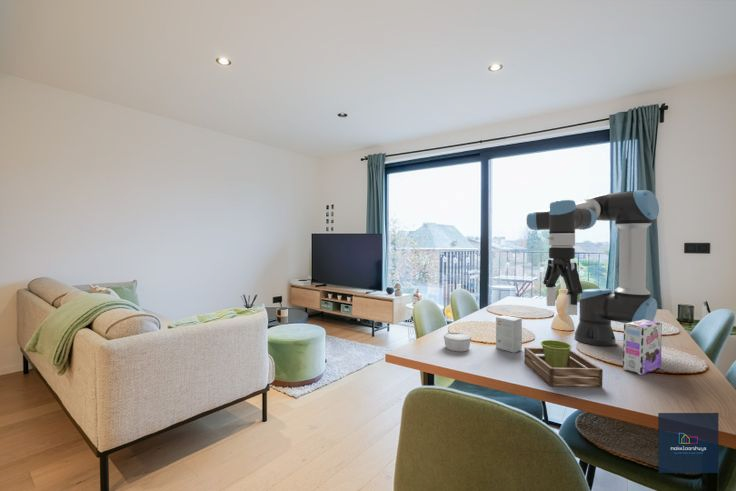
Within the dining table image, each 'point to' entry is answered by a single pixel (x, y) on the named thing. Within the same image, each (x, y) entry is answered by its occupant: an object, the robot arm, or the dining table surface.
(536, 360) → the crate
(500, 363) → the dining table surface
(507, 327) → the small box
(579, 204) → the robot arm
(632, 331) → the candy box
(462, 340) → the ramekin
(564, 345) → the plant pot
